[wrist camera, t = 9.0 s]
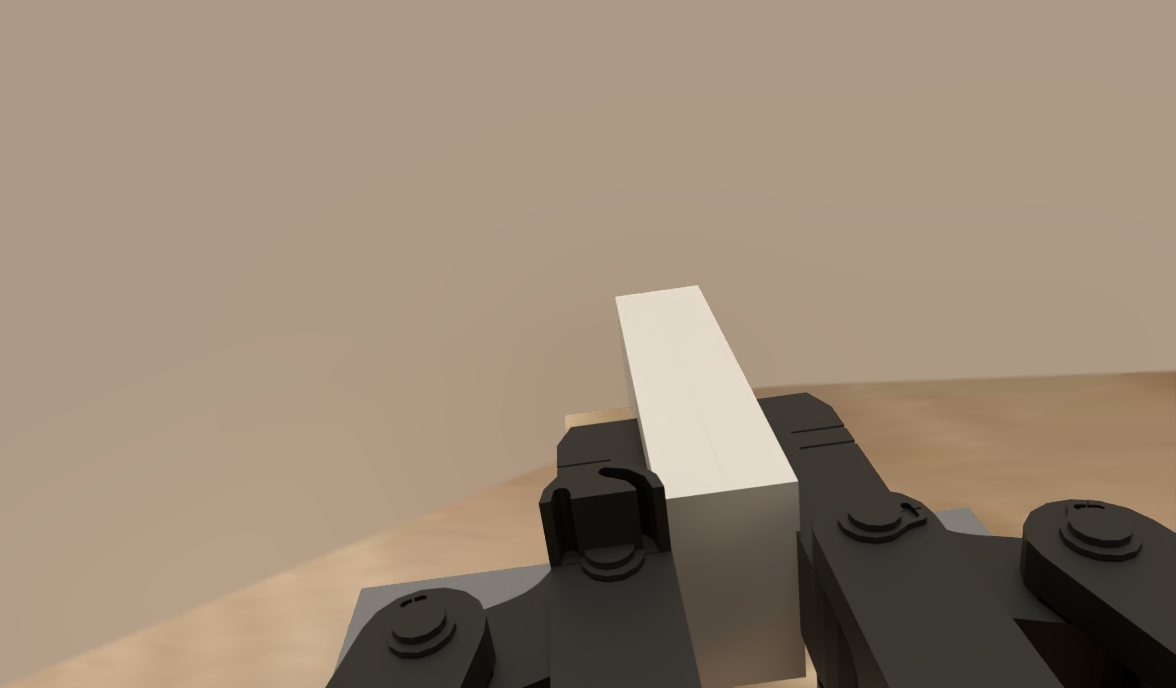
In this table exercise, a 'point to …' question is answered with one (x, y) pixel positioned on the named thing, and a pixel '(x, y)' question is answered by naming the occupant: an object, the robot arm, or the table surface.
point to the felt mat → (536, 580)
